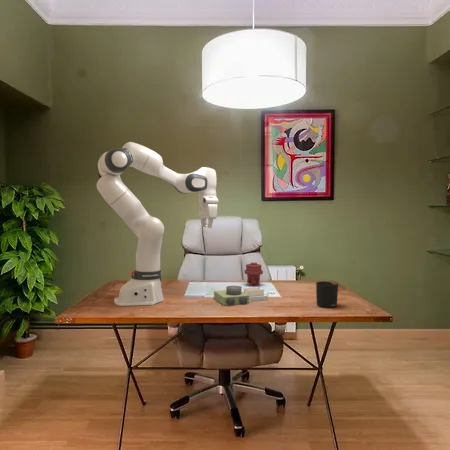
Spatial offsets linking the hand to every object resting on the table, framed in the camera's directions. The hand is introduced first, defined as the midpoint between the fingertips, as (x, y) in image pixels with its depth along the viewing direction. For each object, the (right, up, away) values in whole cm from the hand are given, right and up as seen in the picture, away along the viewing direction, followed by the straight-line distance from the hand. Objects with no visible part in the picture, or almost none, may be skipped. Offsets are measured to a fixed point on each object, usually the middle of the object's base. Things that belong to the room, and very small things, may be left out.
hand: (207, 227), depth 206 cm
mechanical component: (+25, -32, +19) cm, 45 cm away
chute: (+23, -34, -13) cm, 43 cm away
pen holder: (+54, -35, -25) cm, 69 cm away
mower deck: (+17, -34, -15) cm, 41 cm away
